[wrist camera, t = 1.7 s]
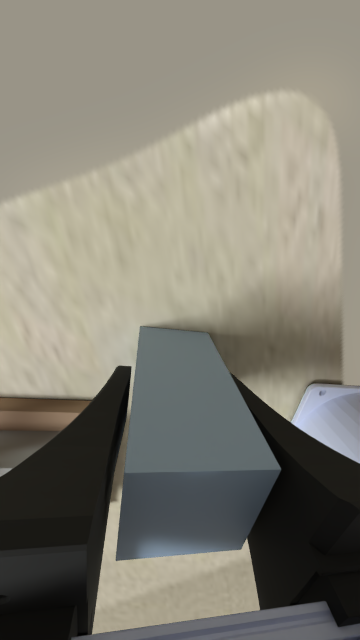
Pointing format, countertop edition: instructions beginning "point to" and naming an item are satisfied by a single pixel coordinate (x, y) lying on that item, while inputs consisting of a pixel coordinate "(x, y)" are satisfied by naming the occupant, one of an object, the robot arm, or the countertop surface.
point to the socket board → (32, 426)
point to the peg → (189, 452)
